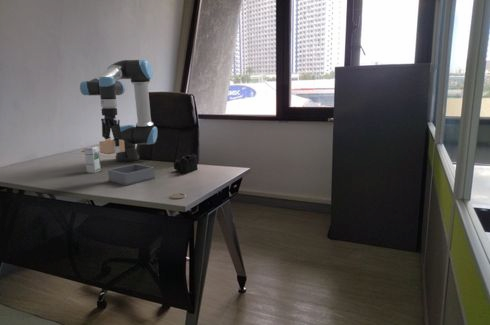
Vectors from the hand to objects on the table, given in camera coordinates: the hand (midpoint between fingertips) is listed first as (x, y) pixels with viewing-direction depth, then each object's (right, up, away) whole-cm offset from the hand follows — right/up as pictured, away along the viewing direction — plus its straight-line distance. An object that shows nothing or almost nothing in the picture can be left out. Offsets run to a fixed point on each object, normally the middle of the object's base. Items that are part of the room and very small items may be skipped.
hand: (112, 151), depth 190 cm
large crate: (+9, -15, +3) cm, 18 cm away
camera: (+35, -11, +21) cm, 42 cm away
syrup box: (-19, -11, +22) cm, 31 cm away
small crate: (0, 0, 0) cm, 0 cm away
